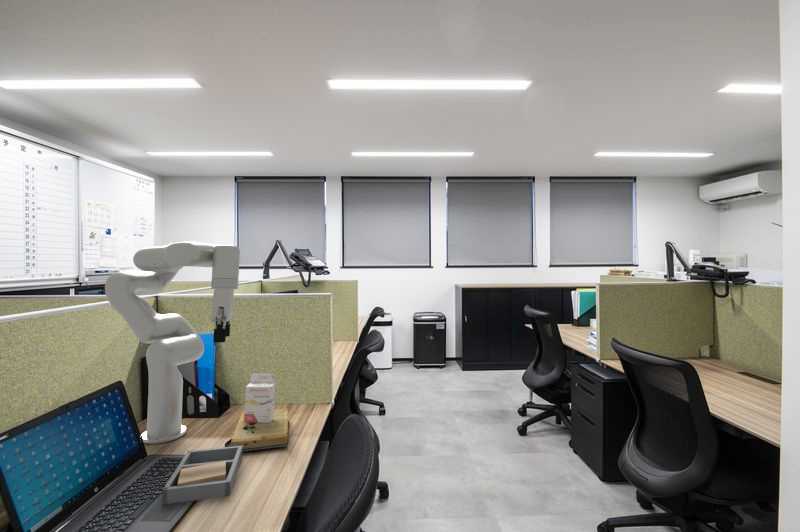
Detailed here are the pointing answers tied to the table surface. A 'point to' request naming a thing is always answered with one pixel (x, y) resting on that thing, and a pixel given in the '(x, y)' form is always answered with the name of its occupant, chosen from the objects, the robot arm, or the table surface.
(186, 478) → the offcut top
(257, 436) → the book
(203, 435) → the table surface
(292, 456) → the table surface
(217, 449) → the rack
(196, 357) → the robot arm
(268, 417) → the ink cartridge box
